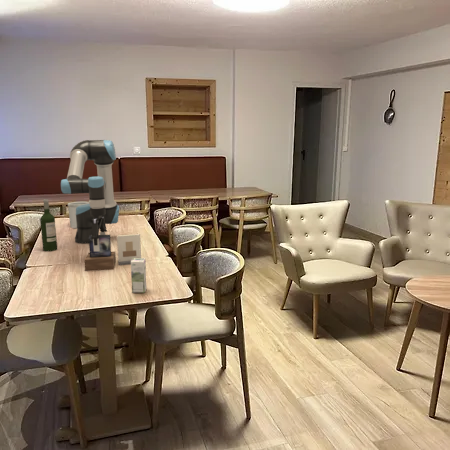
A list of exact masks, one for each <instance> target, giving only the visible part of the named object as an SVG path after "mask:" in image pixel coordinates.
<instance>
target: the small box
mask: <svg viewBox="0 0 450 450" xmlns="http://www.w3.org/2000/svg"><path fill="white" fill-rule="evenodd" d="M91 237H92V235H90V236H89V243H88V246H89V247H88V249H89V253H90V257H111V252H112V248H111V247H112V245H111V242H112V241H111V234H106V235H100V234H99V235H98V239H99V249H100V251H94V246H93V239H91Z"/></svg>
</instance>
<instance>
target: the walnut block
mask: <svg viewBox="0 0 450 450" xmlns="http://www.w3.org/2000/svg"><path fill="white" fill-rule="evenodd" d="M116 258H117V254H116V251H111V257H90V252H88V253H87V254H86V256H85V258H84V271H85V272H87V271H88V272H90V271H107V270H108V271H109V270H111V271H112V270H114V269H115V266H116V263H117V259H116Z"/></svg>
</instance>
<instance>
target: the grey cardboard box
mask: <svg viewBox="0 0 450 450" xmlns="http://www.w3.org/2000/svg"><path fill="white" fill-rule="evenodd" d="M116 243H117V244H116V245H117V246H116V247H117V263H118V266H126V265H131V260H132V259H133V258H142V247H141V245H142V244H141V234H139V233H136V234H122V235H119V234H118V235H116Z"/></svg>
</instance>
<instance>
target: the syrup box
mask: <svg viewBox="0 0 450 450" xmlns="http://www.w3.org/2000/svg"><path fill="white" fill-rule="evenodd" d="M146 269H147V265H146V258H145V257H141V258H133V259H132V260H131V264H130V273H131V274H130V276H131V279H130V280H131V293H132V294H145V293H146V290H147V289H148V288H147V271H146Z"/></svg>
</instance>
